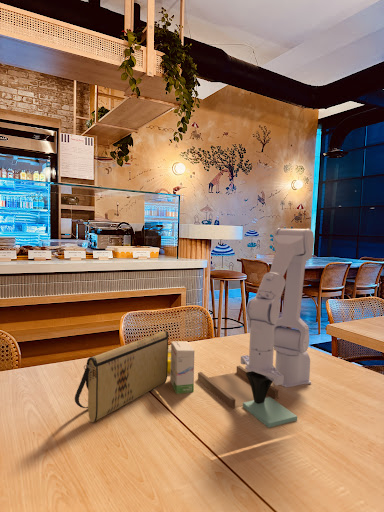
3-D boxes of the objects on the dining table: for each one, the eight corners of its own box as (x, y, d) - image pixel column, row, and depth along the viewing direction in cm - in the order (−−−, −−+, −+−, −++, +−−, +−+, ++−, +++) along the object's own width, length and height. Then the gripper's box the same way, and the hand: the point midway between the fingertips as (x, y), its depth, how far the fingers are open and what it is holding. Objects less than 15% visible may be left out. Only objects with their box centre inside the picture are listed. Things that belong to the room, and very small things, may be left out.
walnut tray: (239, 373, 108) (239, 365, 107) (278, 399, 91) (278, 390, 91) (197, 381, 101) (198, 372, 101) (231, 410, 85) (231, 400, 85)
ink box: (194, 393, 94) (195, 350, 93) (175, 395, 92) (176, 351, 91) (186, 380, 102) (187, 340, 101) (169, 381, 101) (170, 340, 100)
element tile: (141, 355, 122) (142, 341, 122) (185, 358, 120) (185, 344, 120) (128, 372, 107) (128, 357, 107) (177, 376, 105) (177, 360, 105)
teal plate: (269, 404, 90) (269, 396, 90) (296, 424, 81) (297, 416, 81) (242, 410, 86) (243, 402, 86) (268, 432, 78) (268, 423, 77)
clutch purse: (152, 376, 104) (153, 326, 103) (171, 382, 100) (172, 330, 99) (66, 420, 79) (66, 354, 78) (87, 430, 76) (88, 361, 75)
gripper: (231, 340, 91) (229, 392, 92) (266, 359, 78) (264, 419, 79) (254, 337, 94) (252, 387, 95) (291, 355, 81) (289, 413, 82)
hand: (259, 402), depth 87 cm, fingers closed, pressing on teal plate
